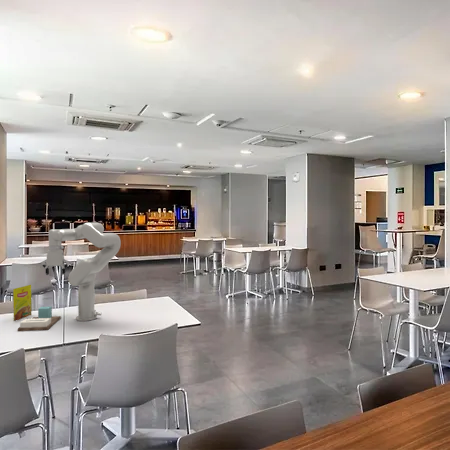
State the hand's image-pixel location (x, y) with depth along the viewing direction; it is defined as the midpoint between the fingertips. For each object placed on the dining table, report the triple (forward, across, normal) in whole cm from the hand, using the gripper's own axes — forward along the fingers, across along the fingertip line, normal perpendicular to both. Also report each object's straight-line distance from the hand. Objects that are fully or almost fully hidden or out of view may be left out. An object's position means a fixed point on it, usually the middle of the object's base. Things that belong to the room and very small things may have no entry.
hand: (55, 274), depth 243 cm
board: (+26, +2, +22) cm, 34 cm away
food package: (+26, +18, +6) cm, 33 cm away
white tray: (+25, +2, +29) cm, 38 cm away
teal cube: (+25, +2, +14) cm, 28 cm away
